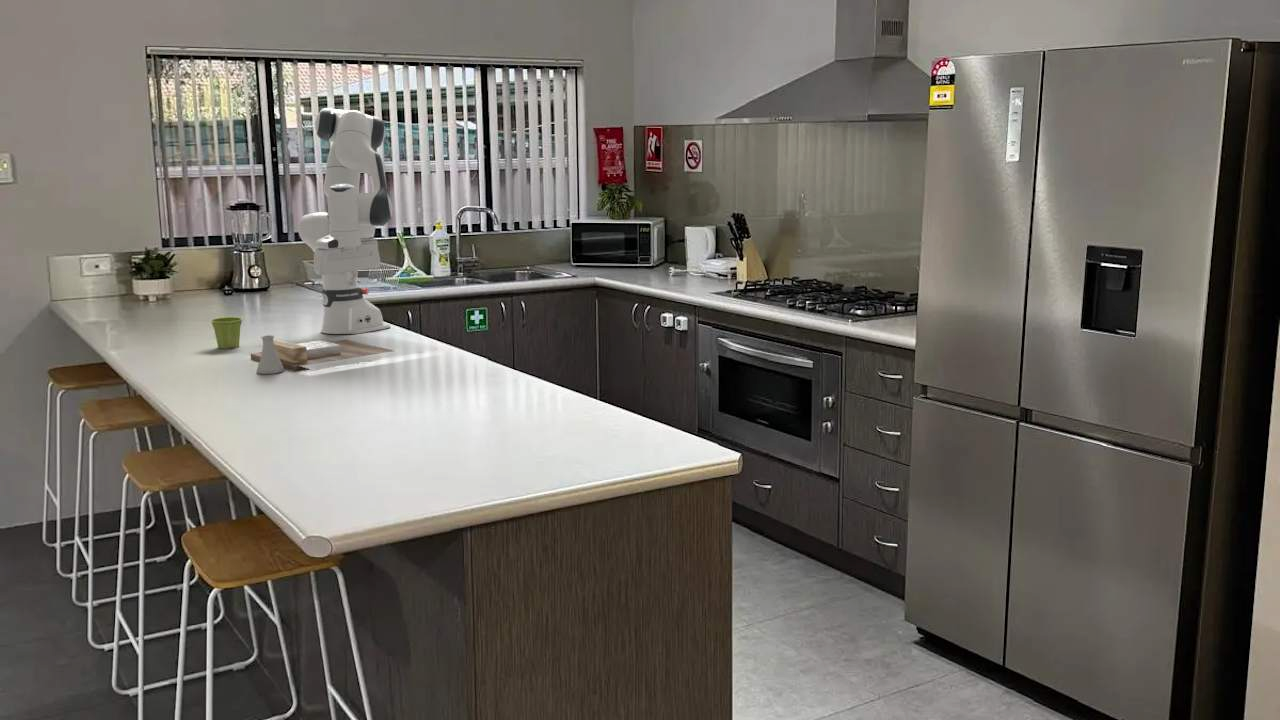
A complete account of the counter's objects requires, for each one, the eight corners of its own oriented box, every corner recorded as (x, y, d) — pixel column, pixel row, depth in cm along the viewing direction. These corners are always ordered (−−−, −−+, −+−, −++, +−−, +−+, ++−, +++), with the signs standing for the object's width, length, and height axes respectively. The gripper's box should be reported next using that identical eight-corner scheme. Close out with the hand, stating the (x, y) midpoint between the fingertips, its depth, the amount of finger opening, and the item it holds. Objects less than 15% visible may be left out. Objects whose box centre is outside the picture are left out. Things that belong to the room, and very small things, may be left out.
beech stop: (277, 352, 335) (276, 339, 334) (307, 360, 322) (306, 346, 321) (264, 354, 332) (263, 341, 332) (294, 362, 319) (292, 348, 319)
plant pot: (250, 344, 359) (247, 316, 357) (236, 350, 350) (234, 321, 348) (221, 344, 360) (218, 317, 358) (207, 350, 351) (204, 321, 349)
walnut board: (347, 344, 356) (346, 339, 355) (395, 355, 335) (394, 350, 335) (250, 358, 335) (250, 353, 335) (296, 371, 315) (295, 366, 314)
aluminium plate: (320, 348, 341) (320, 340, 340) (340, 353, 332) (340, 344, 332) (282, 354, 333) (281, 345, 332) (302, 359, 324) (301, 350, 324)
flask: (276, 375, 311) (273, 338, 309) (251, 374, 312) (248, 338, 310) (289, 369, 318) (286, 334, 316) (265, 369, 319) (262, 333, 317)
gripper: (371, 235, 349) (375, 280, 352) (309, 242, 335) (313, 289, 338) (382, 237, 344) (385, 282, 347) (319, 244, 331) (323, 291, 334)
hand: (349, 286), depth 343 cm, fingers closed
